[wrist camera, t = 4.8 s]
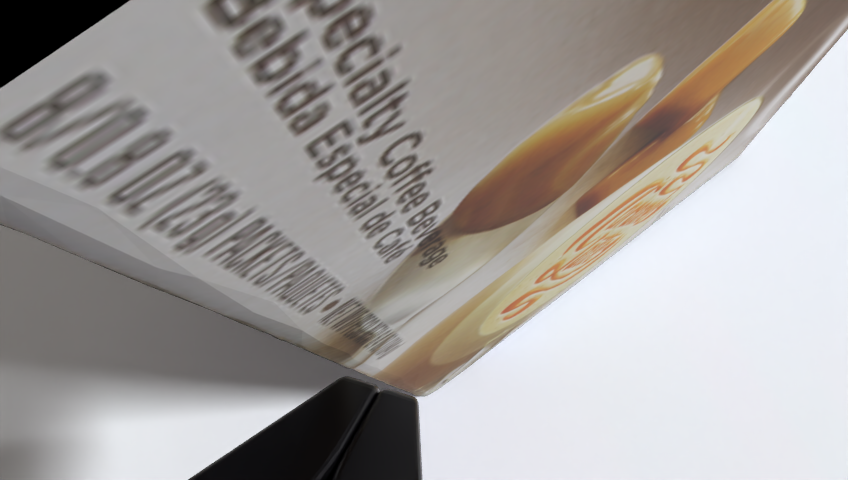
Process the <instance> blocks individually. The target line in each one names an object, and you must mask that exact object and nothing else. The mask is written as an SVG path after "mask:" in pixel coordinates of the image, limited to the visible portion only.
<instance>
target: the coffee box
mask: <svg viewBox="0 0 848 480" xmlns="http://www.w3.org/2000/svg"><path fill="white" fill-rule="evenodd" d="M847 29H848V0H0V225H3V226H6V227H9V228H11V229H14V230H17V231H20V232H22V233H25V234H28V235H30V236H32V237H35V238H37V239H39V240H42V241H44V242H46V243H49V244H51V245H53V246H56V247H58V248H60V249H63V250H65V251H67V252H70V253H72V254H74V255H77V256H79V257H81V258H84V259H86V260H88V261H91V262H93V263H95V264H98V265H100V266H103V267H105V268H107V269H110V270H112V271H114V272H117V273H119V274H122V275H124V276H126V277H129V278H131V279H133V280H136V281H138V282H141V283H143V284H145V285H148V286H150V287H153V288H155V289H158V290H161V291H163V292H166V293H168V294H171V295H174V296H176V297H179V298H181V299H184V300H186V301H189V302H192V303H194V304H197V305H199V306H202V307H204V308H207V309H209V310H212V311H214V312H216V313H219V314H221V315H223V316H225V317H228V318H230V319H232V320H235V321H237V322H239V323H241V324H244V325H246V326H249V327H252V328H254V329H257V330H259V331H262V332H265V333H267V334H270V335H272V336H273V337H275V338H277V339H280V340H283V341H286V342H288V343H291V344H293V345H295V346H298V347H300V348H302V349H305V350H307V351H309V352H311V353H314V354H316V355H318V356H321V357H323V358H325V359H328V360H330V361H333V362H335V363H338V364H340V365H342V366H344V367H345V368H350V369H353V370H355V371H357V372H360V373H362V374H364V375H367V376H369V377H372V378H375V379H377V380H379V381H382V382H384V383H386V384H388V385H391V386H394V387H396V388H399V389H402V390H405V391H407V392H409V393H412V394H413V395H415V396H427V395H429V394H431V393H433V392H434V391H436V390H438V389H439V388H440V387H442V386H443V385H445V384H446V383H447V382H449V381H450V380H452V379H453V378H454V377H456V376H457V375H458V374H460V373H461V372H462V371H464V370H465V369H466V368H468V367H469V366H470V365H472V364H473V363H474V362H476V361H477V360H478V359H479V358H481V357H482V356H483V355H485V354H486V353H487V352H489V351H490V350H491V349H493V348H494V347H495V346H496V345H498V344H499V343H500V342H502V341H503V340H504V339H506V338H507V337H508V336H509V335H511V334H512V333H513V332H515V331H516V330H517V329H519V328H520V327H521V326H522V325H524V324H525V323H526V322H528V321H529V320H530V319H532V318H533V317H534V316H535V315H537V314H538V313H539V312H541V311H542V310H543V309H544V308H546V307H547V306H548V305H550V304H551V303H552V302H553V301H555V300H556V299H557V298H559V297H560V296H561V295H563V294H564V293H565V292H566V291H568V290H569V289H570V288H572V287H573V286H574V285H575V284H577V283H578V282H579V281H581V280H582V279H583V278H585V277H586V276H587V275H588V274H590V273H591V272H592V271H593V270H595V269H596V268H597V267H599V266H600V265H601V264H602V263H604V262H605V261H606V260H608V259H609V258H610V257H611V256H613V255H614V254H615V253H616V252H618V251H619V250H620V249H622V248H623V247H624V246H625V245H627V244H628V243H629V242H630V241H632V240H633V239H634V238H636V237H637V236H638V235H639V234H641V233H642V232H643V231H644V230H646V229H647V228H648V227H650V226H651V225H652V224H653V223H655V222H656V221H657V220H659V219H660V218H661V217H662V216H664V215H665V214H666V213H667V212H669V211H670V210H671V209H673V208H674V207H675V206H676V205H678V204H679V203H680V202H682V201H683V200H684V199H685V198H687V197H688V196H689V195H690V194H692V193H693V192H694V191H696V190H697V189H698V188H699V187H701V186H702V185H703V184H705V183H706V182H707V181H708V180H710V179H711V178H712V177H713V176H715V175H716V174H717V173H719V172H720V171H721V170H722V169H724V168H725V167H726V166H728V165H729V164H730V163H731V162H733V161H734V160H735V159H736V158H738V157H739V156H740V154H741V153H742V152H743V151H744V150H745V148H746V147H747V146H748V145H749V143H750V142H751V141H752V140H753V139H754V138H755V136H756V135H757V134H758V133H759V132H760V130H761V129H762V128H763V127H764V126H765V125H766V123H767V122H768V121H769V120H770V119H771V118H772V116H773V115H774V114H775V113H776V112H777V111H778V109H779V108H780V107H781V106H782V105H783V104H784V103H785V101H786V100H787V99H788V98H789V97H790V96H791V95H792V93H793V92H794V91H795V90H796V89H797V87H798V86H799V85H800V84H801V83H802V82H803V81H804V79H805V78H806V77H807V76H808V75H809V74H810V72H811V71H812V70H813V69H814V67H815V66H816V65H817V64H818V63H819V62H820V60H821V59H822V58H823V57H824V56H825V55H826V53H827V52H828V51H829V50H830V49H831V48H832V47H833V45H834V44H835V43H836V42H837V41H838V40H839V39H840V37H841V36H842V35H843V34H844V33H845V32H846V31H847Z"/></svg>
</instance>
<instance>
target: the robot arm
mask: <svg viewBox="0 0 848 480" xmlns="http://www.w3.org/2000/svg"><path fill="white" fill-rule="evenodd" d="M188 480H422V462H421V443H420V424H419V405H418V401H417V399H416V398H415V397H413V396H410V395H406V394H403V393H400V392H397V391H394V390H390V389H383V390H381V391H380V390H379V388H378V387H377V386H376V385H374V384H371V383H368V382H365V381H362V380H358V379H355V378H352V377H342V378H340V379H338V380H337V381H335V382H334V383H332V384H331V385H329V386H328V387H326V388H325V389H323V390H322V391H320V392H319V393H317V394H316V395H314V396H313V397H311V398H310V399H308V400H307V401H305V402H304V403H302V404H301V405H299V406H298V407H296V408H295V409H293V410H292V411H290V412H289V413H287V414H286V415H284V416H283V417H281V418H280V419H278V420H277V421H275V422H274V423H272V424H271V425H269V426H268V427H266V428H265V429H263V430H262V431H260V432H259V433H257V434H256V435H254V436H253V437H251V438H250V439H248V440H247V441H245V442H244V443H242V444H241V445H239V446H238V447H236V448H235V449H233V450H232V451H230V452H229V453H227V454H226V455H224V456H223V457H221V458H220V459H218V460H217V461H215V462H214V463H212V464H211V465H209V466H208V467H206V468H205V469H203V470H202V471H200V472H199V473H197V474H196V475H194V476H193V477H191V478H190V479H188Z"/></svg>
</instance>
